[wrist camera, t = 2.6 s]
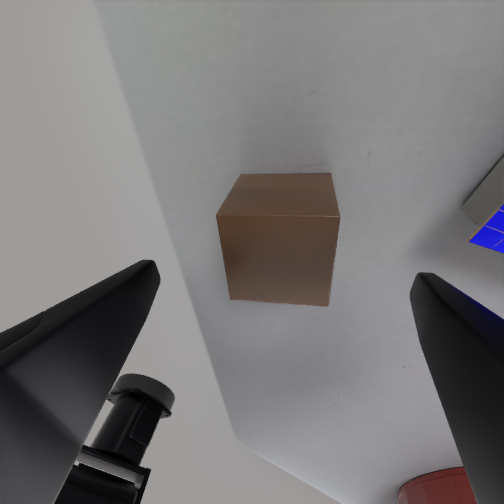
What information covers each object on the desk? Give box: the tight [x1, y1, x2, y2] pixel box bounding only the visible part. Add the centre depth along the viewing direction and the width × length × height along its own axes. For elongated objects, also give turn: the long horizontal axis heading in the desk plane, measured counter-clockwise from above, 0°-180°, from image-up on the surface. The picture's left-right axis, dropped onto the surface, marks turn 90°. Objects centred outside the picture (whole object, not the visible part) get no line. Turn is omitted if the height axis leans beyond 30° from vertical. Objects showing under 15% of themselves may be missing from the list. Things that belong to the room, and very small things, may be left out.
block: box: [216, 173, 340, 307], centre depth 11 cm, size 4×4×4 cm
